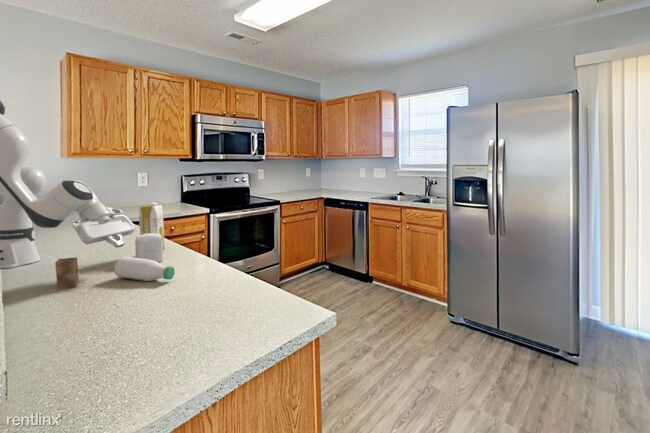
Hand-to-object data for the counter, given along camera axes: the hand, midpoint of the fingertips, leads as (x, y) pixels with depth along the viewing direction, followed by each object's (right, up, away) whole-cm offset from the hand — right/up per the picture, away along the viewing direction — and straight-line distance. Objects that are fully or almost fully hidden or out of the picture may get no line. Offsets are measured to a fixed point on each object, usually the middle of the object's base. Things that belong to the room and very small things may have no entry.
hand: (120, 246), depth 127 cm
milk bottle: (0, -8, 0) cm, 8 cm away
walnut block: (-12, -13, -9) cm, 20 cm away
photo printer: (+1, -9, +20) cm, 22 cm away
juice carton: (-3, -7, +31) cm, 32 cm away
